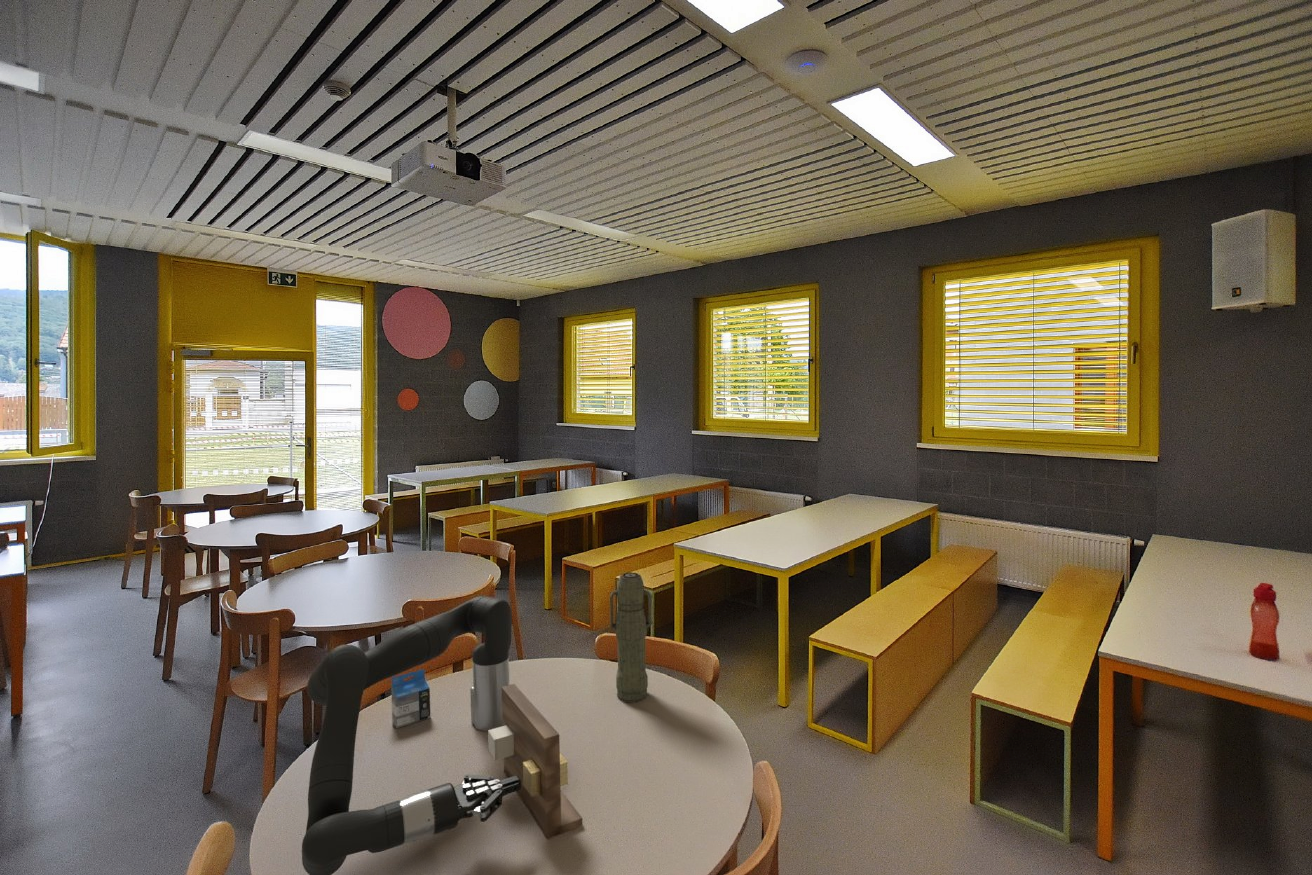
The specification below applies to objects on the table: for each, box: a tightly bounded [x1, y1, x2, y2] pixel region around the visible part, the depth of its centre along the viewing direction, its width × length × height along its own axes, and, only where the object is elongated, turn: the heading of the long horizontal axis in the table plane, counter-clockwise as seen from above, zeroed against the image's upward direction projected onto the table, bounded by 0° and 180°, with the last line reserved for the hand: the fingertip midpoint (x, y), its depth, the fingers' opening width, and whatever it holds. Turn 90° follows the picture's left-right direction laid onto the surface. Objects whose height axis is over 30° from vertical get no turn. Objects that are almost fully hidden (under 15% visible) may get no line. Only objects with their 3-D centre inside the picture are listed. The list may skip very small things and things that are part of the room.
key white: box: [487, 725, 514, 762], centre depth 139 cm, size 8×5×5 cm, turn 122°
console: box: [501, 683, 583, 840], centre depth 135 cm, size 8×26×20 cm, turn 32°
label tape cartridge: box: [390, 668, 432, 729], centre depth 168 cm, size 9×4×12 cm, turn 129°
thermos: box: [609, 571, 653, 704], centre depth 180 cm, size 9×12×35 cm
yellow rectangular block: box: [523, 753, 569, 797], centre depth 127 cm, size 8×5×5 cm, turn 122°
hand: (519, 781), depth 124 cm, fingers closed
